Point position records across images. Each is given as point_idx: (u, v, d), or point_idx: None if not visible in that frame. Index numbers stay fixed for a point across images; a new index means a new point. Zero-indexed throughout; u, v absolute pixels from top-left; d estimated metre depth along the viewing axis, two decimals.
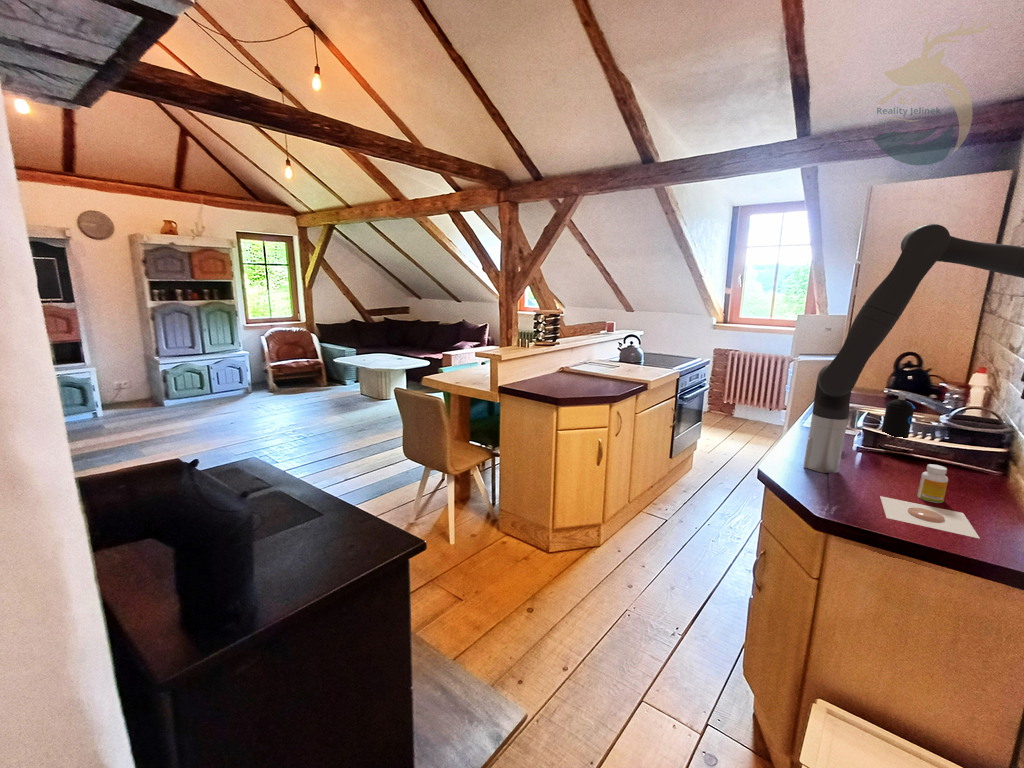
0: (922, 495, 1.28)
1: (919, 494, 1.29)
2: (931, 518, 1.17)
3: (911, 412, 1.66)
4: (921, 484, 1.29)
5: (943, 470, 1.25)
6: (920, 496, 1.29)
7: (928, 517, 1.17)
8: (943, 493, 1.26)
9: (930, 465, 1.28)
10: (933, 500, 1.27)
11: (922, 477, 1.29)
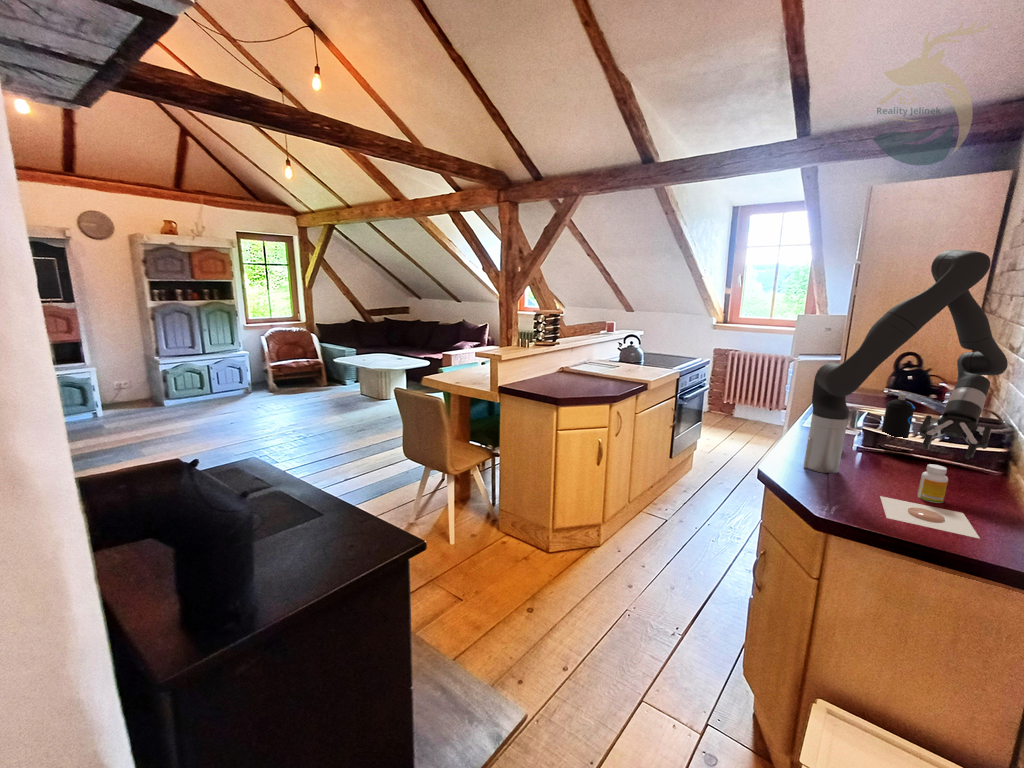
0: (922, 495, 1.28)
1: (919, 494, 1.29)
2: (931, 518, 1.17)
3: (911, 412, 1.66)
4: (921, 484, 1.29)
5: (943, 470, 1.25)
6: (920, 496, 1.29)
7: (928, 517, 1.17)
8: (943, 493, 1.26)
9: (930, 465, 1.28)
10: (933, 500, 1.27)
11: (922, 477, 1.29)
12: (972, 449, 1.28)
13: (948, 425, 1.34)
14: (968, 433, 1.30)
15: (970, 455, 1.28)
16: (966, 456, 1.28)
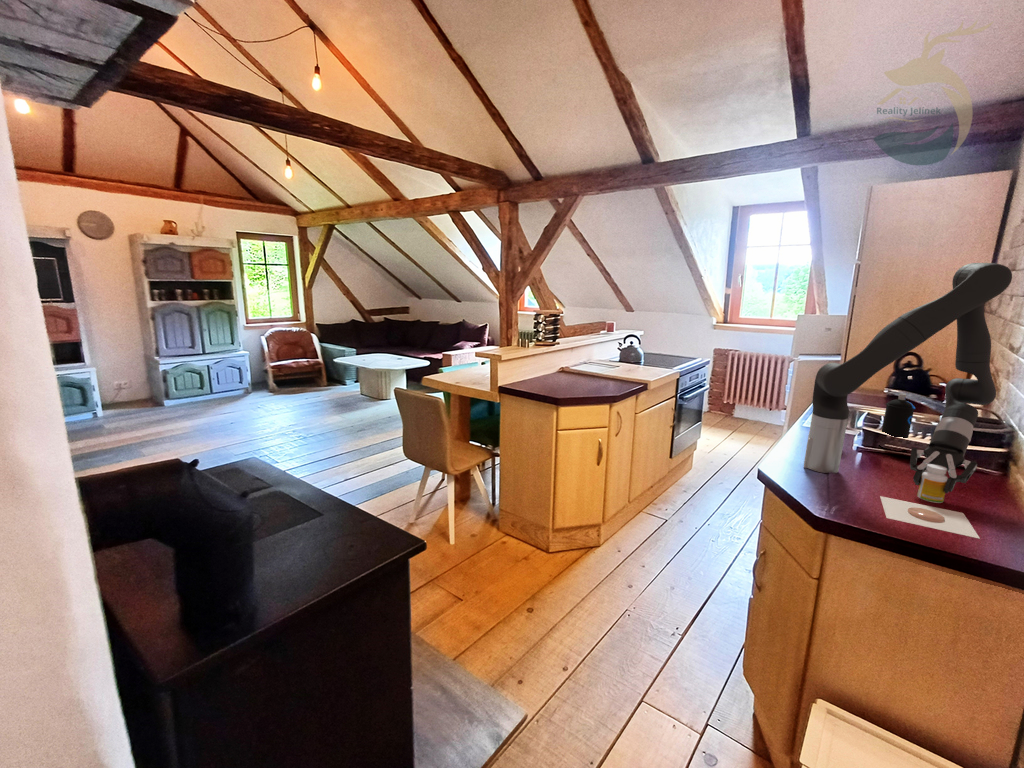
0: (922, 495, 1.28)
1: (919, 494, 1.29)
2: (931, 518, 1.17)
3: (911, 412, 1.66)
4: (921, 484, 1.29)
5: (943, 470, 1.25)
6: (920, 496, 1.29)
7: (928, 517, 1.17)
8: (943, 493, 1.26)
9: (930, 465, 1.28)
10: (933, 500, 1.27)
11: (922, 477, 1.29)
12: (951, 483, 1.25)
13: (936, 457, 1.29)
14: (951, 466, 1.26)
15: (949, 489, 1.24)
16: (945, 490, 1.25)
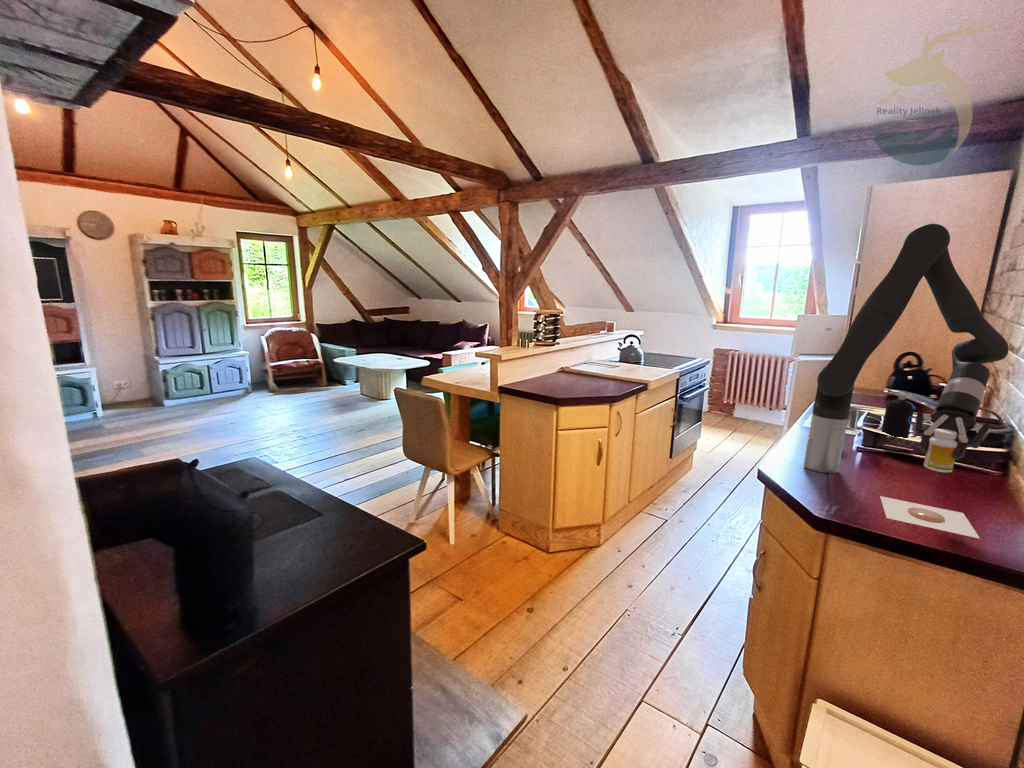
0: (929, 462, 1.16)
1: (926, 462, 1.17)
2: (931, 518, 1.17)
3: (911, 412, 1.66)
4: (929, 451, 1.17)
5: (953, 434, 1.13)
6: (927, 464, 1.17)
7: (928, 517, 1.17)
8: (952, 459, 1.14)
9: (938, 429, 1.16)
10: (942, 468, 1.15)
11: (929, 443, 1.17)
12: (962, 449, 1.13)
13: (944, 421, 1.17)
14: (961, 430, 1.14)
15: (960, 455, 1.12)
16: (955, 457, 1.13)
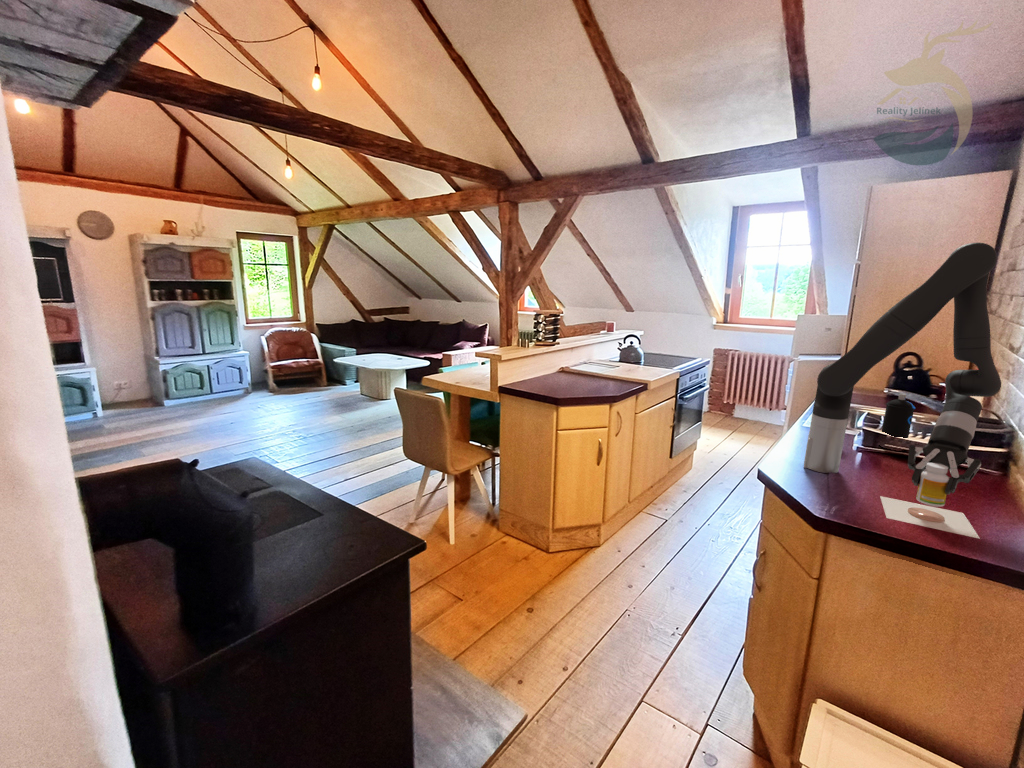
0: (921, 496, 1.17)
1: (918, 496, 1.18)
2: (931, 518, 1.17)
3: (911, 412, 1.66)
4: (920, 485, 1.18)
5: (944, 469, 1.14)
6: (919, 498, 1.18)
7: (928, 517, 1.17)
8: (944, 494, 1.15)
9: (929, 464, 1.17)
10: (933, 502, 1.16)
11: (921, 477, 1.18)
12: (953, 484, 1.14)
13: (936, 454, 1.19)
14: (952, 465, 1.15)
15: (951, 490, 1.13)
16: (946, 491, 1.14)
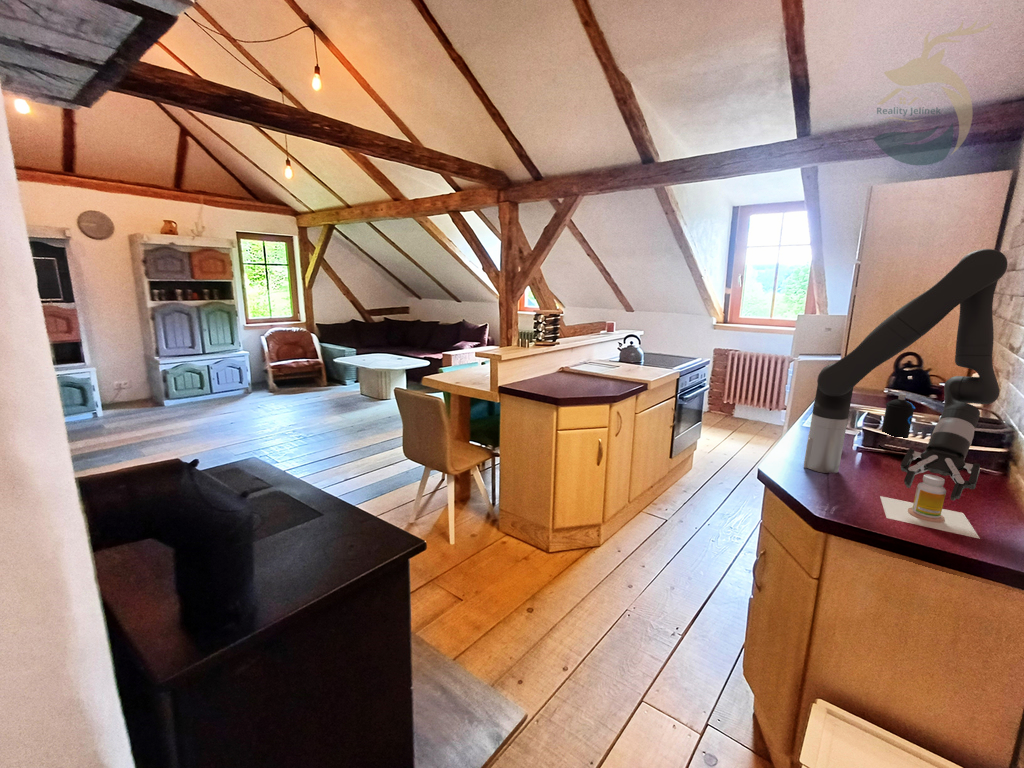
0: (917, 507, 1.18)
1: (914, 507, 1.19)
2: (931, 518, 1.17)
3: (911, 412, 1.66)
4: (917, 496, 1.19)
5: (940, 481, 1.15)
6: (915, 509, 1.19)
7: (928, 517, 1.17)
8: (940, 506, 1.16)
9: (926, 475, 1.18)
10: (929, 513, 1.16)
11: (918, 488, 1.19)
12: (958, 490, 1.13)
13: (932, 461, 1.19)
14: (954, 471, 1.15)
15: (956, 496, 1.13)
16: (952, 497, 1.13)
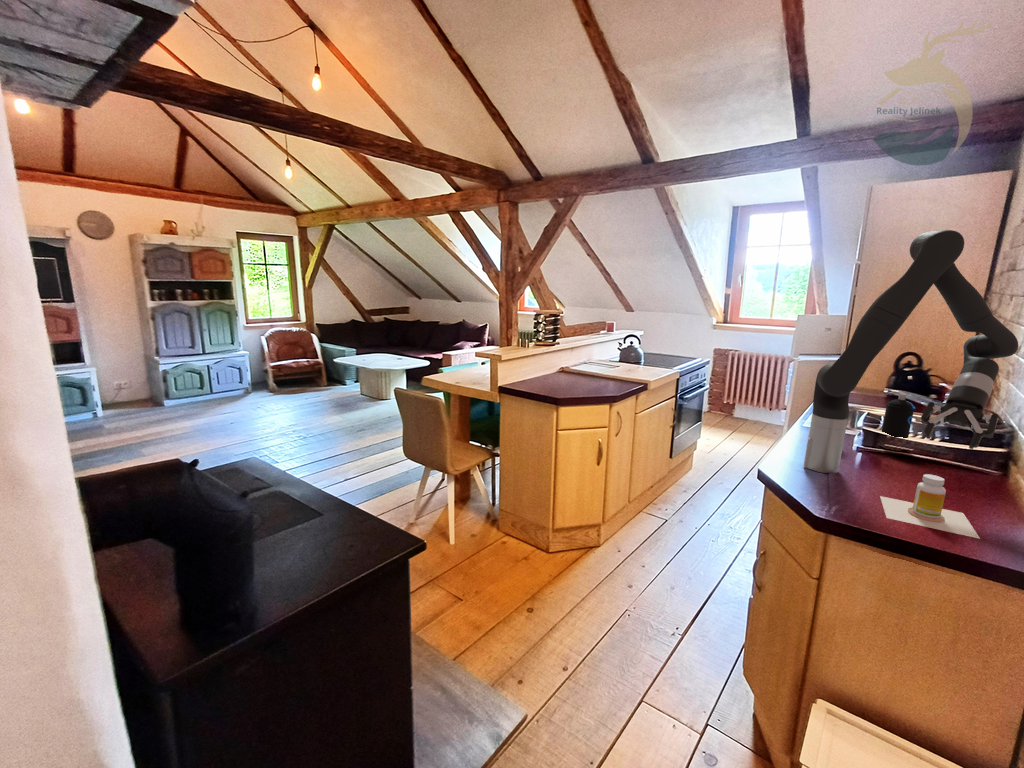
0: (917, 508, 1.18)
1: (914, 507, 1.19)
2: (931, 518, 1.17)
3: (911, 412, 1.66)
4: (917, 496, 1.19)
5: (940, 481, 1.15)
6: (915, 509, 1.19)
7: None
8: (940, 506, 1.16)
9: (926, 475, 1.18)
10: (929, 514, 1.16)
11: (918, 488, 1.19)
12: (977, 439, 1.20)
13: (952, 413, 1.25)
14: (973, 421, 1.22)
15: (974, 445, 1.20)
16: (970, 446, 1.20)
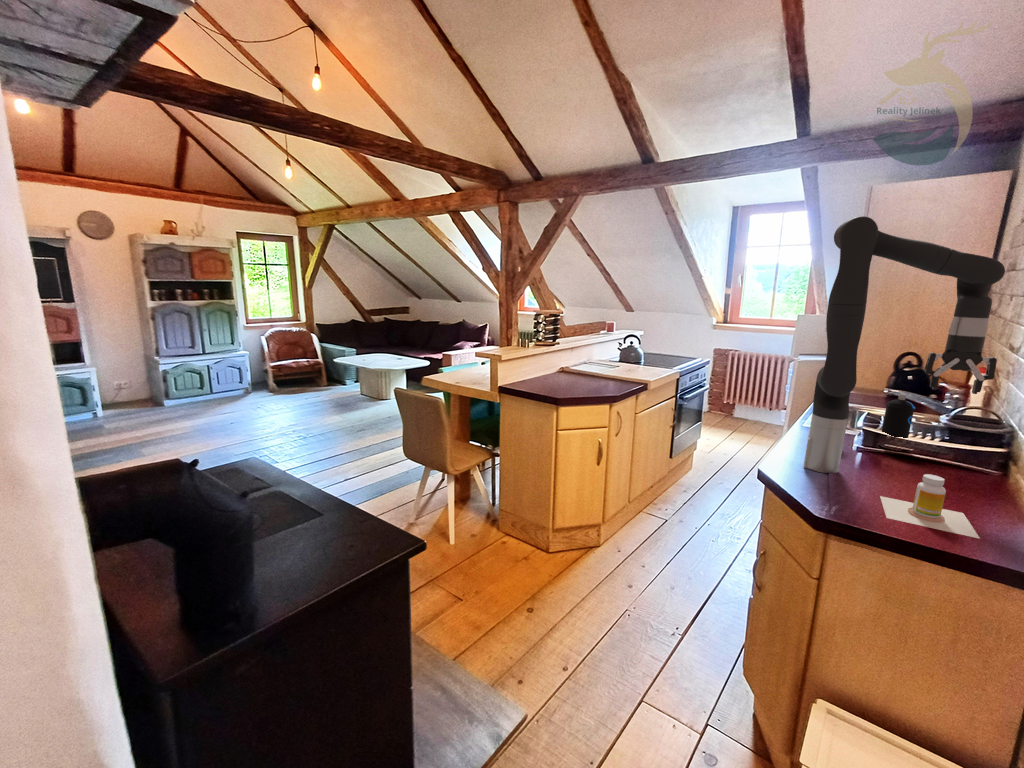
0: (917, 507, 1.18)
1: (914, 507, 1.19)
2: (931, 518, 1.17)
3: (911, 412, 1.66)
4: (917, 496, 1.19)
5: (940, 481, 1.15)
6: (915, 509, 1.19)
7: None
8: (940, 506, 1.16)
9: (926, 475, 1.18)
10: (929, 514, 1.16)
11: (918, 488, 1.19)
12: (979, 386, 1.31)
13: (954, 363, 1.32)
14: (975, 370, 1.30)
15: (977, 391, 1.31)
16: (974, 393, 1.32)
